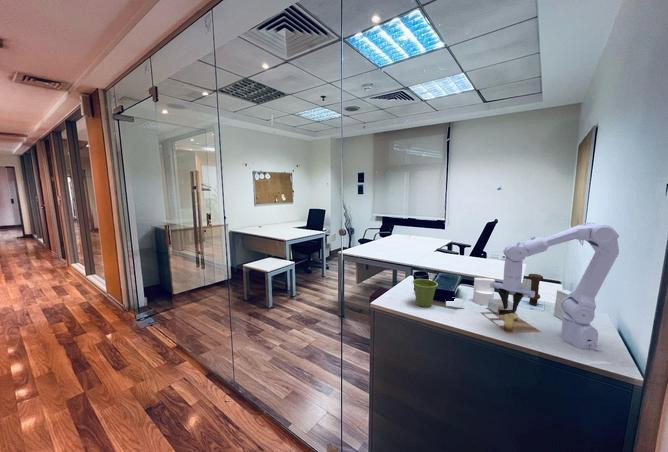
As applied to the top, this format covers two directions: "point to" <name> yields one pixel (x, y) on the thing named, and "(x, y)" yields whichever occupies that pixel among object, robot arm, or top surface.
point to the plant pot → (424, 291)
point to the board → (518, 324)
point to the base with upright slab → (483, 291)
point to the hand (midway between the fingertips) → (509, 309)
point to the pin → (508, 322)
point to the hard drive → (455, 304)
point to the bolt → (535, 287)
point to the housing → (499, 305)
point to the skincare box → (559, 298)
